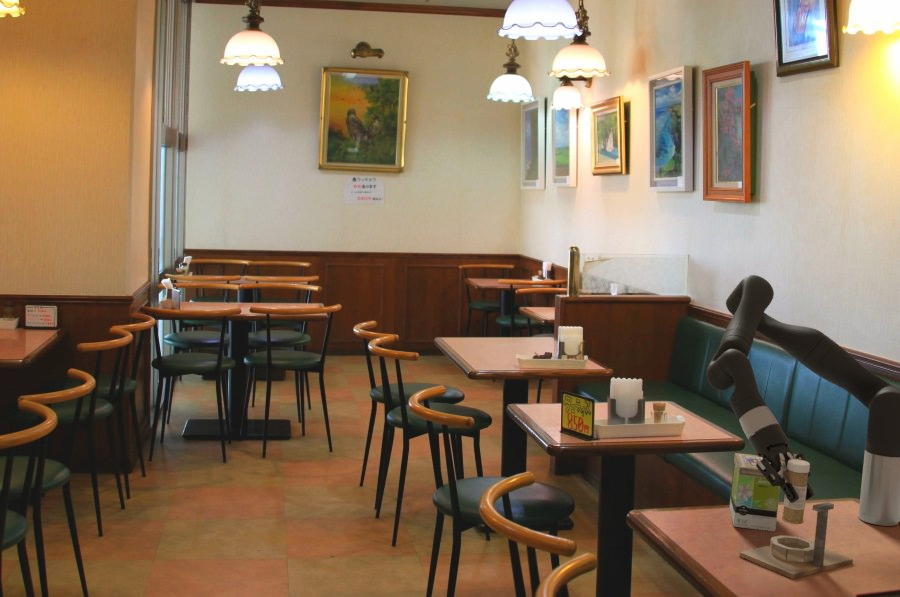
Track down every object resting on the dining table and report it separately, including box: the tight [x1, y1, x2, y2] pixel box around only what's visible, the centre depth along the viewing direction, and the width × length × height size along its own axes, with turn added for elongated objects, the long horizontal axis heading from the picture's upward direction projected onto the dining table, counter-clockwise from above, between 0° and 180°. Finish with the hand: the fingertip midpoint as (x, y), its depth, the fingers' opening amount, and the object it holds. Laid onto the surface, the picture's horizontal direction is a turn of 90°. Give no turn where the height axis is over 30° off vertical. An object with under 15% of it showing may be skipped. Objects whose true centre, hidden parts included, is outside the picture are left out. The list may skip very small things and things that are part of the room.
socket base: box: [739, 501, 854, 580], centre depth 218 cm, size 20×14×14 cm
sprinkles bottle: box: [781, 459, 811, 525], centre depth 218 cm, size 5×5×13 cm
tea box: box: [729, 452, 781, 532], centre depth 244 cm, size 15×10×15 cm
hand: (802, 499), depth 217 cm, fingers closed on sprinkles bottle, 4 cm apart
